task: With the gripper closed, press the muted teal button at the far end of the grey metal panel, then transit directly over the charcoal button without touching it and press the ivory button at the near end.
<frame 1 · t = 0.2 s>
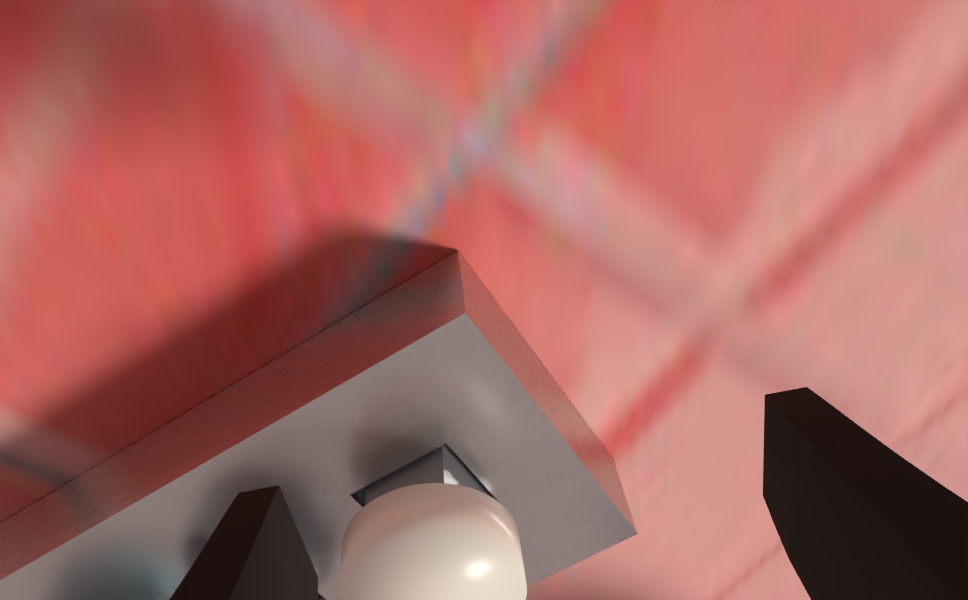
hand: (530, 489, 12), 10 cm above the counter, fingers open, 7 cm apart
button ivory: (431, 536, 20), point 4 cm above the counter, slide at 0.0 cm
panel: (267, 515, 25), on the counter
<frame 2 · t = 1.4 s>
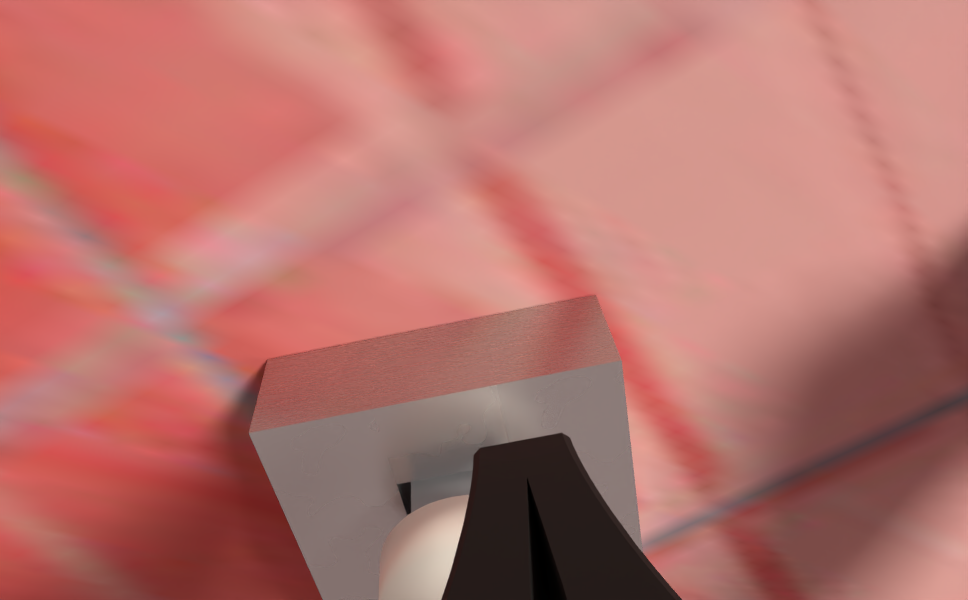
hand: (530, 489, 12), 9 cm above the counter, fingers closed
button ivory: (468, 548, 20), point 4 cm above the counter, slide at 0.0 cm
panel: (494, 571, 27), on the counter
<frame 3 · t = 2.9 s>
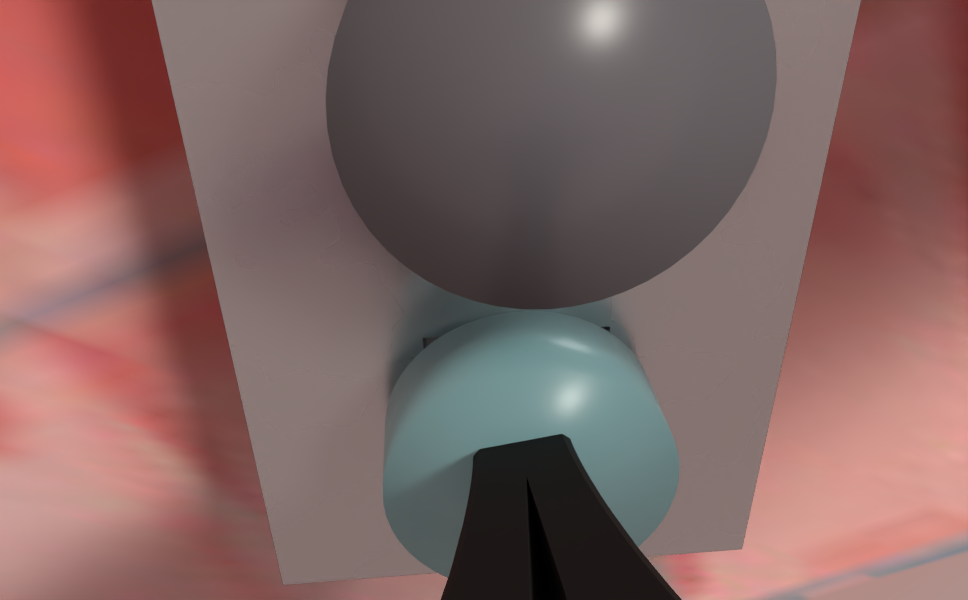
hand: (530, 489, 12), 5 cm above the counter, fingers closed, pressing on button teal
button charcoal: (529, 67, 9), point 4 cm above the counter, slide at 0.0 cm
button teal: (517, 411, 13), point 3 cm above the counter, slide at 1.0 cm, touching gripper
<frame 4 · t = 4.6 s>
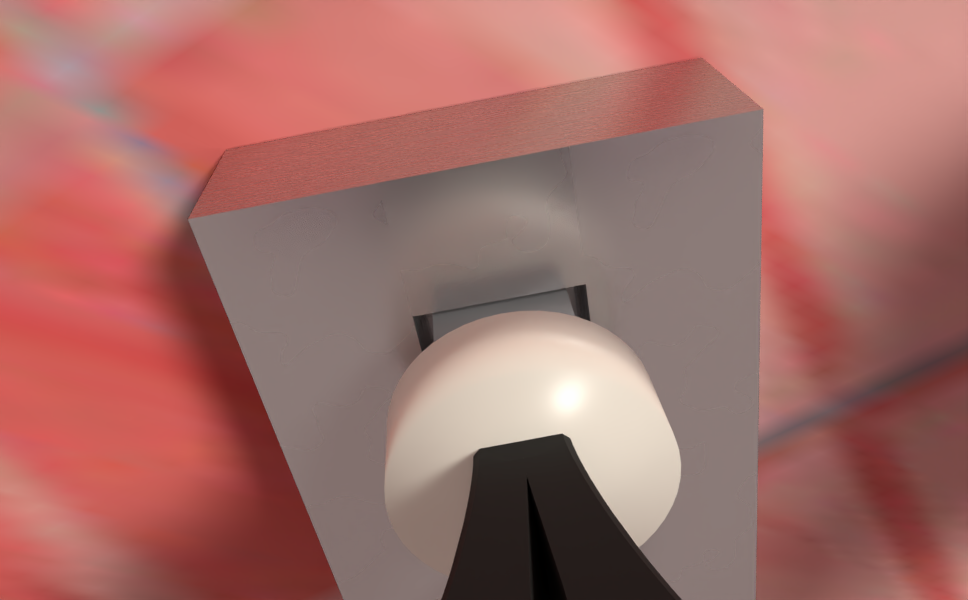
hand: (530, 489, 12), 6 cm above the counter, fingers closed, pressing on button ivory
button ivory: (519, 410, 13), point 4 cm above the counter, slide at 0.0 cm, touching gripper
panel: (535, 487, 20), on the counter
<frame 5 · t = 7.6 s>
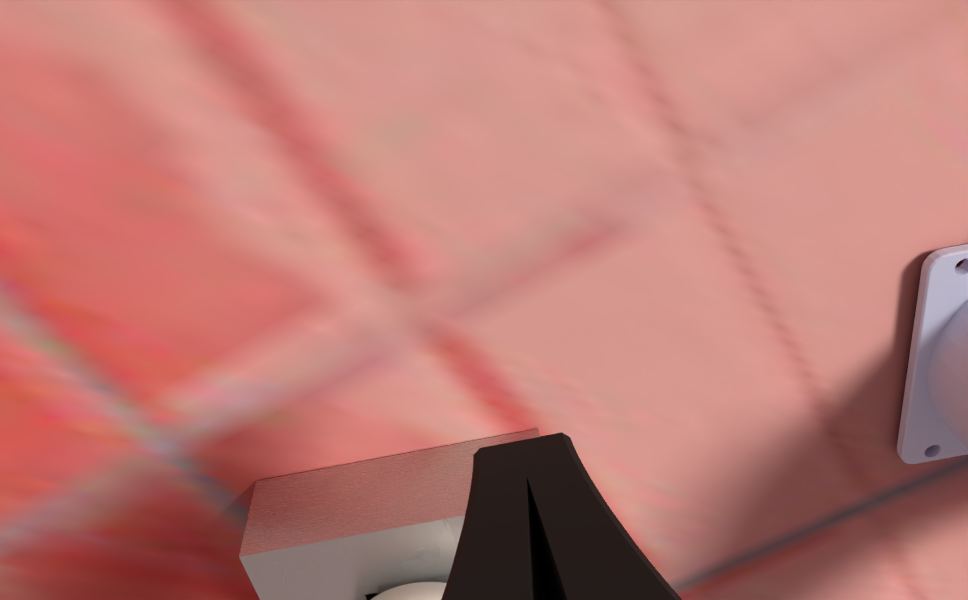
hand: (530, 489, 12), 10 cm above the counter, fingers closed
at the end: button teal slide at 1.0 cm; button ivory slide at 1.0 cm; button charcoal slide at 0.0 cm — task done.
